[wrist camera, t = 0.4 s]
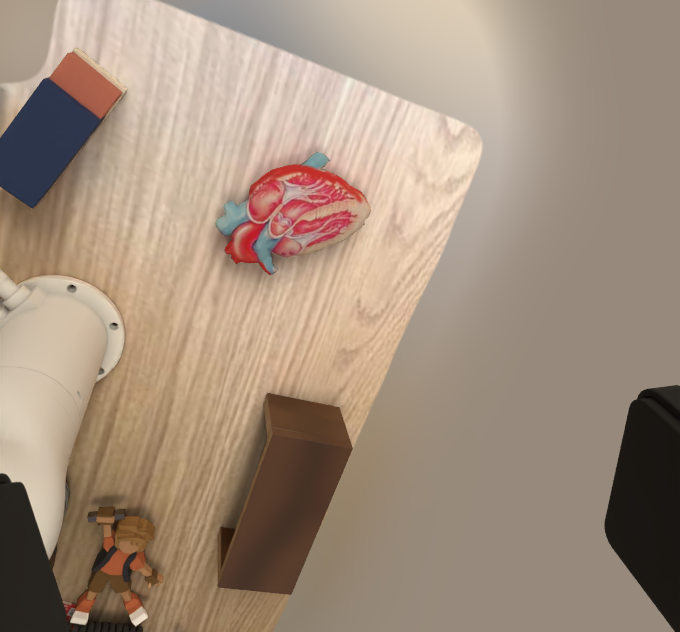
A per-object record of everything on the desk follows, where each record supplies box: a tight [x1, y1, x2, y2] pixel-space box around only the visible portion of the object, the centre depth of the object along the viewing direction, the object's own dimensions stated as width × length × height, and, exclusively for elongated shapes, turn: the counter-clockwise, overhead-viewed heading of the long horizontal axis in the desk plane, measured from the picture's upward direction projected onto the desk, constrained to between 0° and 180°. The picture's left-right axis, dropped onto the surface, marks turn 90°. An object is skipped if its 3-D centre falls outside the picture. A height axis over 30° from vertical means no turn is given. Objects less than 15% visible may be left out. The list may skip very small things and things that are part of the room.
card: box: [63, 601, 77, 631], centre depth 79 cm, size 8×1×5 cm
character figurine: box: [70, 507, 164, 626], centre depth 75 cm, size 12×5×18 cm
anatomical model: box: [216, 152, 371, 275], centre depth 60 cm, size 9×15×4 cm, turn 114°
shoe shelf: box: [218, 393, 353, 595], centre depth 72 cm, size 9×22×8 cm, turn 160°
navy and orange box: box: [0, 48, 128, 208], centre depth 52 cm, size 13×5×5 cm, turn 137°
